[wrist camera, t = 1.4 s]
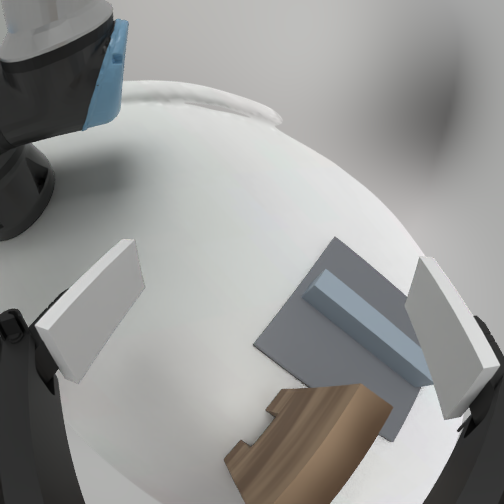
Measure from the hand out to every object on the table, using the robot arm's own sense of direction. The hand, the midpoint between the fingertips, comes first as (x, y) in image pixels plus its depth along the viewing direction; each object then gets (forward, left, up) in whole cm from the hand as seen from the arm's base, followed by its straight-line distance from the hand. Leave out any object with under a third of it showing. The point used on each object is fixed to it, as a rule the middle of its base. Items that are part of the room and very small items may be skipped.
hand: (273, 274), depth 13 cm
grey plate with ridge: (+13, +11, -20) cm, 26 cm away
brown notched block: (+9, -5, -20) cm, 22 cm away
